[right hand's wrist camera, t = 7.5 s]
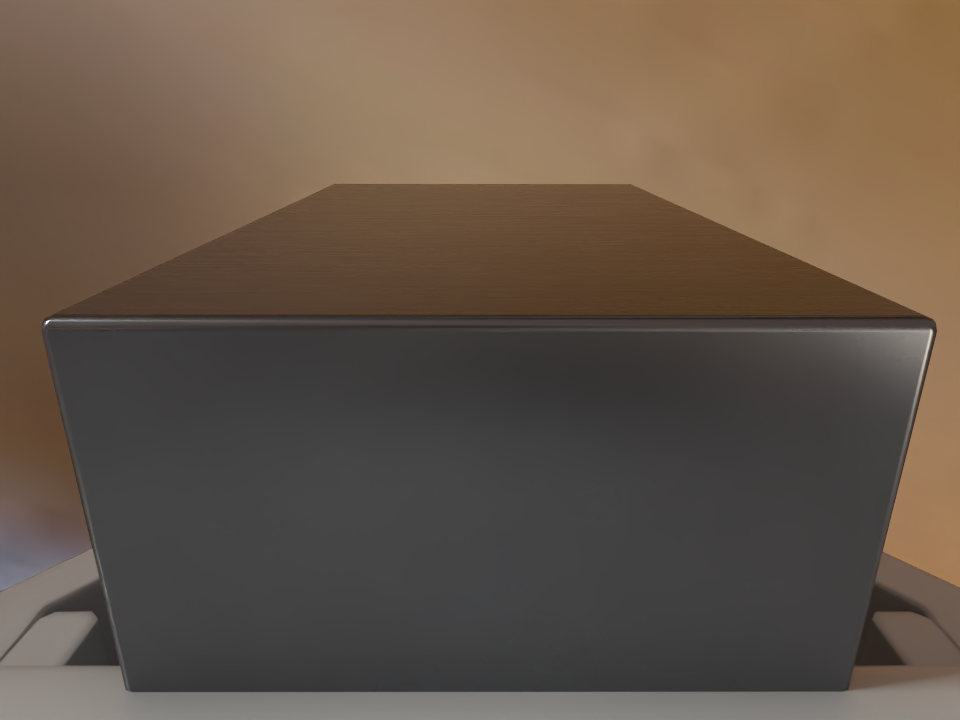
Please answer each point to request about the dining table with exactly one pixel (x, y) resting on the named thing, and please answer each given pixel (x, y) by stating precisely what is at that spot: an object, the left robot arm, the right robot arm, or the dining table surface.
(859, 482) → the bar
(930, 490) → the dining table surface
